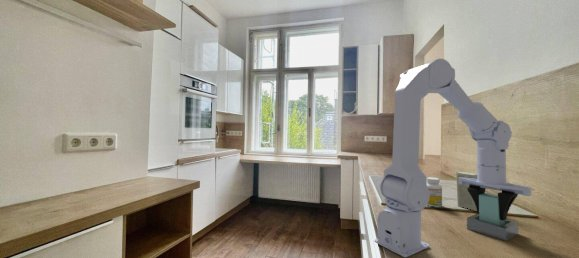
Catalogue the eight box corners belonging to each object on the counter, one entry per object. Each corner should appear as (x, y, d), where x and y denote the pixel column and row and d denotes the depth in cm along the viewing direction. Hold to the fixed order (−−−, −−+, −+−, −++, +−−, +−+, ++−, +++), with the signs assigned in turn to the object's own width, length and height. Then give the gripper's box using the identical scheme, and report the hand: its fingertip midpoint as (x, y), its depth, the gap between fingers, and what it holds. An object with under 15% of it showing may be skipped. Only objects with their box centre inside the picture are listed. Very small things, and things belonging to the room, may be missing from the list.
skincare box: (484, 210, 75) (484, 174, 75) (475, 211, 74) (474, 175, 74) (465, 204, 81) (464, 171, 81) (456, 205, 80) (455, 171, 80)
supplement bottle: (425, 201, 84) (425, 176, 85) (442, 204, 81) (442, 178, 81) (423, 205, 80) (423, 178, 80) (441, 208, 77) (441, 180, 77)
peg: (498, 230, 57) (498, 198, 57) (479, 224, 60) (478, 194, 60) (504, 226, 59) (504, 196, 59) (485, 221, 62) (485, 192, 62)
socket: (506, 241, 54) (506, 228, 54) (467, 228, 61) (466, 217, 61) (518, 233, 58) (517, 222, 58) (480, 222, 65) (479, 212, 65)
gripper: (535, 168, 55) (536, 223, 55) (466, 161, 68) (466, 206, 68) (525, 170, 52) (526, 229, 51) (454, 163, 64) (455, 210, 64)
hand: (491, 216), depth 59 cm, fingers closed on peg, 4 cm apart
